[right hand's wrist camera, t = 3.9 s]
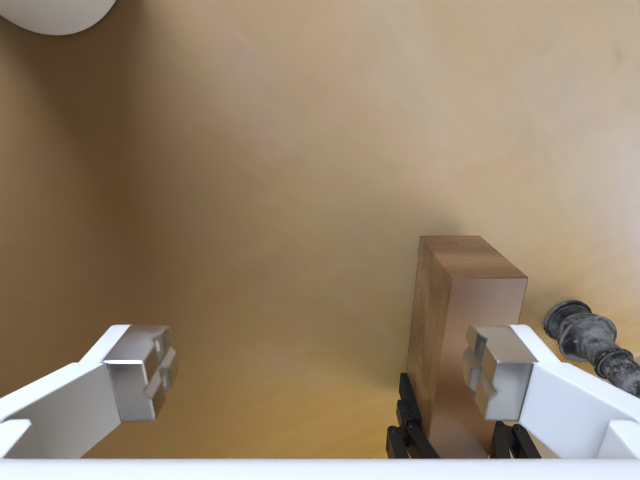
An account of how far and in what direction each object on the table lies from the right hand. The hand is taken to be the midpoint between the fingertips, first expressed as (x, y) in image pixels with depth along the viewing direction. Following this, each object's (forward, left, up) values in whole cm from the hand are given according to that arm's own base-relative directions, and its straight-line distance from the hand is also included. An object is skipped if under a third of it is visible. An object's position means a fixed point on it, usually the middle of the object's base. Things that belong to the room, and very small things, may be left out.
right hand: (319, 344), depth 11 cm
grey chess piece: (+18, +28, -28) cm, 44 cm away
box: (+18, +13, -27) cm, 35 cm away
